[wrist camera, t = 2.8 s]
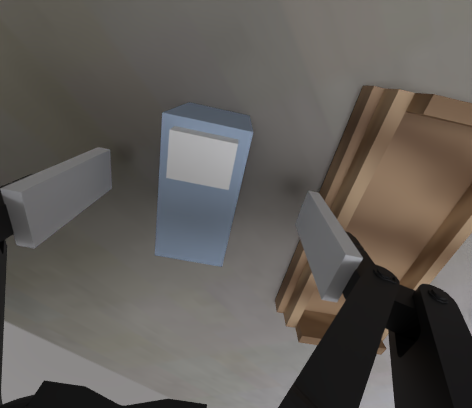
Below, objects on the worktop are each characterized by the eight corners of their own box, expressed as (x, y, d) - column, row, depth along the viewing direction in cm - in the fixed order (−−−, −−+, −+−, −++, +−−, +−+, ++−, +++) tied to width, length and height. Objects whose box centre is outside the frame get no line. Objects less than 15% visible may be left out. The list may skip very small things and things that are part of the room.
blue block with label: (227, 217, 21) (220, 277, 15) (178, 207, 21) (149, 265, 14) (249, 115, 17) (254, 136, 11) (189, 102, 17) (155, 115, 10)
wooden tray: (374, 316, 27) (397, 357, 23) (275, 300, 26) (281, 339, 22) (517, 122, 17) (601, 135, 13) (363, 85, 16) (402, 86, 12)
